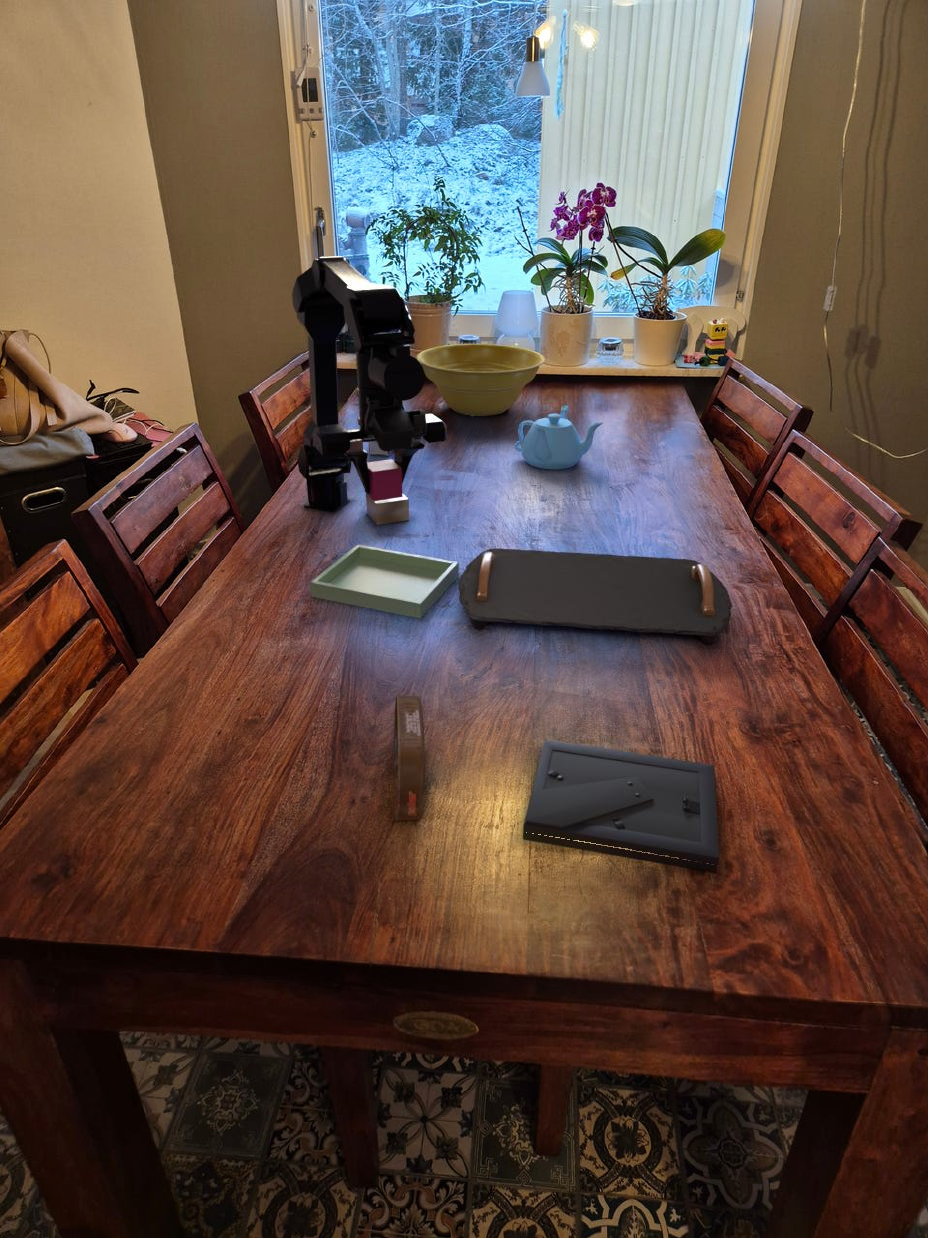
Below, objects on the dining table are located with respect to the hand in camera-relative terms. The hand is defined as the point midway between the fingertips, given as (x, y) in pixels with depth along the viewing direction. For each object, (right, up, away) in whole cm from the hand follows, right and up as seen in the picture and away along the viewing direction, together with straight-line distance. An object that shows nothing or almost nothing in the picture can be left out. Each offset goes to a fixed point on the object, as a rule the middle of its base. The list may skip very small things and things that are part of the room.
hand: (383, 490), depth 121 cm
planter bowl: (+16, +35, +90) cm, 98 cm away
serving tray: (+31, -17, -3) cm, 35 cm away
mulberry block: (0, -1, 0) cm, 1 cm away
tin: (+6, -37, -38) cm, 53 cm away
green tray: (0, -14, +2) cm, 14 cm away
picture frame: (+28, -38, -40) cm, 62 cm away
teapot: (+32, +14, +53) cm, 63 cm away
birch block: (-2, -1, +26) cm, 26 cm away
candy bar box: (-5, +19, +61) cm, 64 cm away
